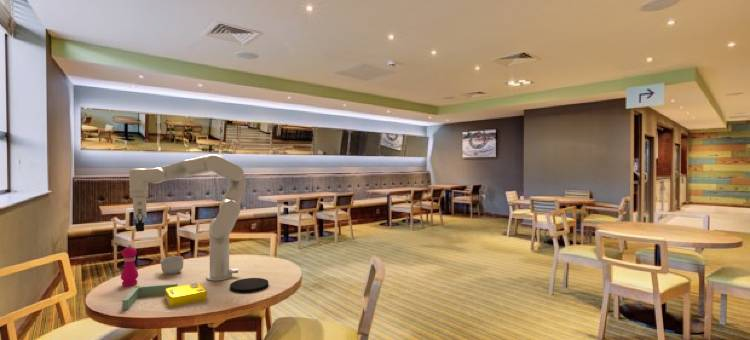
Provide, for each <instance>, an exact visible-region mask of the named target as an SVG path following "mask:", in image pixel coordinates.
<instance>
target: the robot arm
mask: <svg viewBox="0 0 750 340" xmlns="http://www.w3.org/2000/svg"><path fill="white" fill-rule="evenodd" d="M243 169H244V168H243V167H241V166H240V165H238V164H236V163H234V162H232V161H230V160H228V159H226V158H225V157H223V156H221V155H218V154H216V153H214V154H213V153H212V154H207V155H202V156H198V157H194V158H188V159H184V160H182V161H179V162H176V163H172V164H168V165H167V164H166V165H163V166H159V167H158V166H157V167H154V168H139V167H138V168H131V169H130V170H129V173H128V174H129V175H128V176H129V180H128V181H129V198H131V199H132V209H133V216H134V219H135V222H134V223H135V227H134V228H135V232H137V233H138V232H144V231H145V221H144V219H146V218H147V214H148V213H147V198H148V197H149V184H160V183H163V182H167V181H170V180H174V179H181V178H189V177H194V176H196V175H201V174H206V173H210V172H213V173H215V174H216V175H219V176H221V177H223V178H225V179H228V186H227V189H226V192H225V193H224V196H223V199H222V200H221V202H220V204H219V206H218V207H219V208H218V210H219V211H218V213H217V215H216V217H215V218H213V219H212V220H211V221H210V223H209V229H208V233H209V234H208V235H209V274H207V275H206V280H207V281H214V282H215V281H216V282H217V281H225V280H228V279H231V278H232V277H233V274H238V273H239V269H238V268H231V266H230V234H231V232H232V230H233V229H234V227H235V225H236V222H237V220H238V218H239V215H240V213H241V206H240V203H241V201H242V199H243V196H244V194H245V191H246V188H247V185H246V184H247V181H246V178H245V175H244V173H245V172H244V170H243Z"/></svg>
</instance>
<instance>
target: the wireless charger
mask: <svg viewBox="0 0 750 340" xmlns="http://www.w3.org/2000/svg"><path fill="white" fill-rule="evenodd" d="M267 288H269V280H268V279H266V278H263V277H262V278H261V277H247V278H243V279H242V278H241V279H238V280H235V281H233V282H231V283H230V284H229V289H230V291H231V292H234V293H236V294H251V293H256V292H257V293H258V292H261V291H263V290H266V289H267Z"/></svg>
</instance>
